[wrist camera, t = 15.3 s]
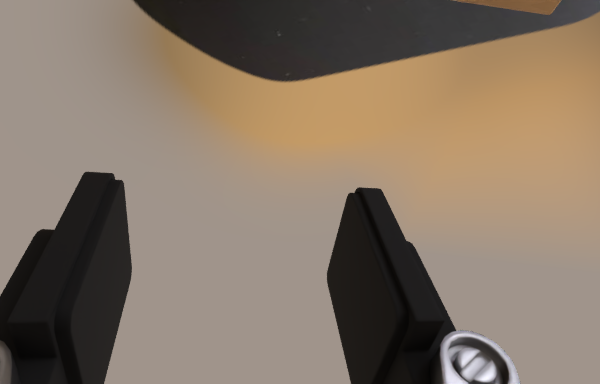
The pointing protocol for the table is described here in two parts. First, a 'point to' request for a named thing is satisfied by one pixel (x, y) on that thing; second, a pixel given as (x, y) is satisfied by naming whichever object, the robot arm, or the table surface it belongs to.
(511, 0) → the cover
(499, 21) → the table surface
